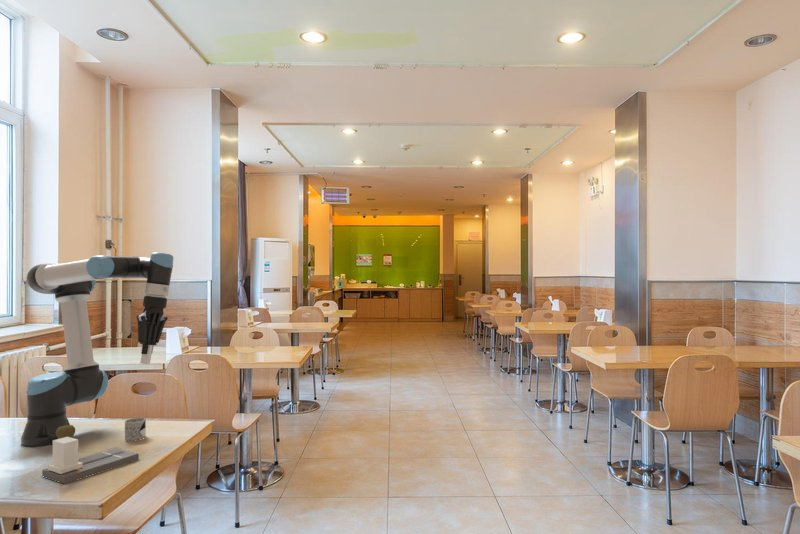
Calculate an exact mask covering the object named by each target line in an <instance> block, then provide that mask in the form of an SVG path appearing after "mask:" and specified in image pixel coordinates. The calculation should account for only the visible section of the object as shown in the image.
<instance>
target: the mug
mask: <svg viewBox="0 0 800 534" xmlns="http://www.w3.org/2000/svg"><path fill="white" fill-rule="evenodd" d="M146 425H147V421H146V418H145V417H134V418H128V419H127V420H125V421H124V441H125V440H127V441H126V442H136V441H135V440H138V441H141V440H140V439H142V440H144V439H145V437H146V438H147V436H146V435H147V434H146V431H147V429H146V428H147V427H146ZM143 438H144V439H143Z"/></svg>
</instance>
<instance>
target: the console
mask: <svg viewBox="0 0 800 534" xmlns="http://www.w3.org/2000/svg"><path fill="white" fill-rule="evenodd" d="M139 454H140V453H139V452H134V451H130V450H127V449H122V448H118V447H114V448H110V449H107V450H105V451H102V452H97V453H94V454H90V455H86V456H84V457H80V458H78V462H81V463H83V467H82V468H79V469H75V470H72V471H69V472H66V473H63V474H59V473H56V472H53V471H50V470H48V467H47V468H44V469H42V470H41V472H42V473H41V474H42V475H41V477H42V476H44V477H43V478H45V477H47V478H46V479H48V478H50V479H49V480H51V479H53V480H56V481H59V482H61V483H60V484H62V483H64V484H63V485H66V484H65V483H67V484H69V482H70V483H73V482H75V481H74V480H76V481H78V480H77V479H79V480H81V479H80V478H82V479H85V478H87V477H86V476H88V477H90V476H89V475H91V476H93V475H92V474H94V475H96V474H95V473H97V474H99V473H98V472H100V473H103V472H105V470H106V471H109V470H111V468H112V469H115V468H118V467H121V466H124V465H127V464H130V463H133V462H137V461H139V459H140V458H139ZM114 467H115V468H114ZM108 469H109V470H108ZM102 471H103V472H102ZM84 477H85V478H84ZM53 480H52V481H53ZM56 481H55V482H56ZM72 481H73V482H72ZM59 482H58V483H59Z"/></svg>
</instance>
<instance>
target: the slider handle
mask: <svg viewBox="0 0 800 534" xmlns="http://www.w3.org/2000/svg"><path fill="white" fill-rule="evenodd" d="M78 459H79V438H78V439H77V438H75V437H74V438H70V437H64V438H60V439H57V440H53V444H52V464H49V465H47V468H48V470H50V471H53V472H56V473H59V474H63V473H66V472H69V471H72V470H75V469H79V468H82V467H83V463H81V462H78Z"/></svg>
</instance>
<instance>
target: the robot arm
mask: <svg viewBox="0 0 800 534" xmlns="http://www.w3.org/2000/svg"><path fill="white" fill-rule="evenodd" d="M173 267H174V256H173V255H172V254H169V253H165V252H156V251H155V252H152V253H151V254H150V257H142V256H134V255H133V256H122V255H121V256H119V255H117V256H116V255H104V254H102V255H93V256H90V258H87V259H82V260H81V259H80V260H76V261H71V262H69V261H68V262H65V263H39V264H36V265H34V266H32V267H31V268H30V269H29V270H28V272H27V275H26V282H27V285H28V286H29V288H30V289H32V290H33V291H35V292H37V293H39V294H44V295H54V299H55V301H56V302H58V303H59V304H60V307H61V309H60V310H61V317H62V318H61V319H62V326H63V327H62V328H63V334H64V345H65V351H66V359H67V361H66V362H67V365H66V367H65V368H64V369H63V371H54V372H48V373H47V372H46V373H42V374H40V375H36V376H34V377H32V378H31V379H29V381H28V383H27V387H26V398H27V399H26V400H27V401H26V405H27V407H26V410H27V413H26V416H27V418H26V419H27V420H26V423H25V426H24V428H23V432H22V434H21V438H20V445H22V446H25V447H38V446H39V447H40V446H45V445H47V446H48V445H53V440H57V439H58V437H57V436H56V430H57V429H58V428H59V427H61V426H65V425H71V424H70V421H69V419H68V417H67V407H69V406H73V405H77V404H81V403H82V404H83V403H87V402H88V403H89V402H92V401H94V400H97V399H99V398H101V397H102V396H104V394H105V392H107V388H108V385H109V384H108V383H109V378H108V374H107V373H106V371H105V370H104V369H103V368H100V364H99V363H98V362H97V361H95V360H94V353H93V344H92V336H91V334H92V333H91V328H90V327H91V326H90V320H89V312H88V304H87V300H88V299H89V298H90V297H91V292H93V291H94V289H95V286H96V282H97V280H105V279H115V278H118V279H121V278H122V279H123V278H124V279H126V278H127V279H146V283H145V289H144V295H145V296H143V301H142V306H143V307H144V309H142V313H141V314H137V315H136V319H137V338H138V339H137V342H138V343H139V344H140V345H141V346H142V347H141V353H140V354H141V358H140V362H139V363H140V364H142V365H150V364H151V360H152V359H151V358H152V354H153V352H154V351H153V350H154V346H157V345H158V343H159V342H160V340H161V336H162V333H163V330H164V327H165V324H166V322H167V321H168V316H166V315H164V309H166V308H167V302H168V298H167V297H168V296H169V288H170V285H171V279H172V273H173Z"/></svg>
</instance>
